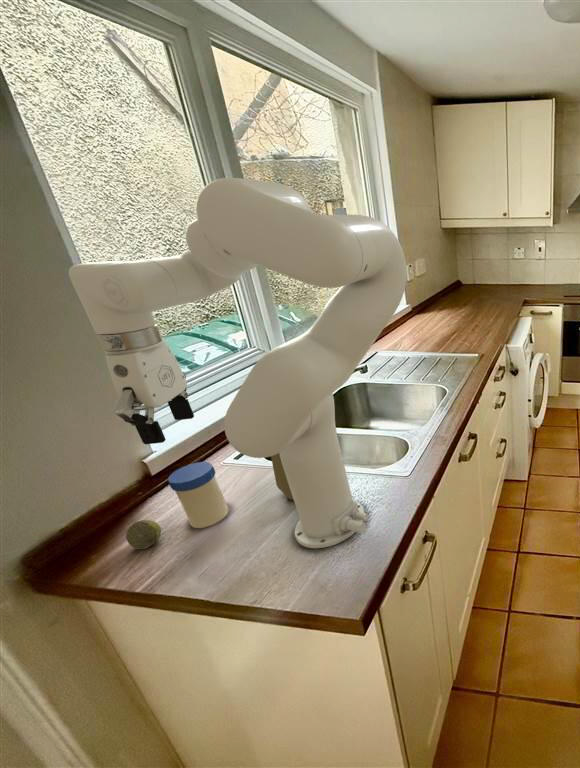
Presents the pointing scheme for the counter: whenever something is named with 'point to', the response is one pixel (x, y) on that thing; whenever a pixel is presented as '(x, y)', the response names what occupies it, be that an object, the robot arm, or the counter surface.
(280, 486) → the squeeze bottle
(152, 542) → the lime
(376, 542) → the counter surface
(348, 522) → the robot arm
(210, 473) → the lid
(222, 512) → the jar
